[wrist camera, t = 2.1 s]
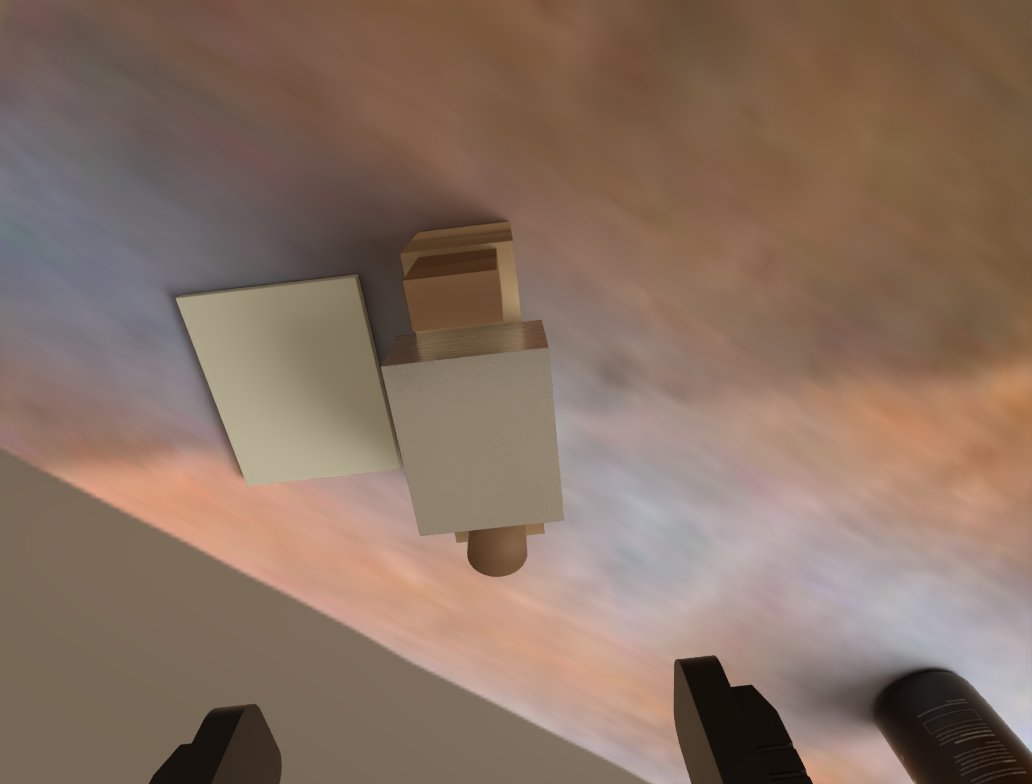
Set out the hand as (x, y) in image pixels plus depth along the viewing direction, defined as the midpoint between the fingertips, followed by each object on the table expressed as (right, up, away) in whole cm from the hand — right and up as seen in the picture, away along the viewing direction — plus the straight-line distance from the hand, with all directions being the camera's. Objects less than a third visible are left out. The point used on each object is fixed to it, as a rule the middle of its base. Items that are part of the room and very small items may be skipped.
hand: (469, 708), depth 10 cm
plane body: (-1, +7, +16) cm, 18 cm away
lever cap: (-1, +5, +11) cm, 13 cm away
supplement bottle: (+29, -15, +28) cm, 43 cm away
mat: (-10, +6, +16) cm, 20 cm away
